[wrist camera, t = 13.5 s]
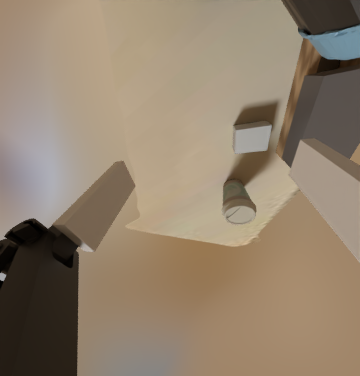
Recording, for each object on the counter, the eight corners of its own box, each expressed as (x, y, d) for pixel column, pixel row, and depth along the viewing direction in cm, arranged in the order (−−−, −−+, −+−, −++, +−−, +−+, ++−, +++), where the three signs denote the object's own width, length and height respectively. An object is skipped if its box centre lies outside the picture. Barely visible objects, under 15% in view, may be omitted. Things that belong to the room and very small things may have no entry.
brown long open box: (307, 21, 22) (326, 12, 19) (370, 3, 20) (403, -11, 17) (275, 152, 36) (283, 160, 32) (311, 148, 34) (323, 157, 31)
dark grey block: (294, 75, 26) (324, 76, 19) (354, 62, 24) (410, 58, 17) (275, 151, 35) (291, 169, 28) (318, 146, 33) (345, 165, 26)
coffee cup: (241, 171, 41) (252, 200, 31) (250, 191, 45) (262, 221, 35) (214, 182, 44) (216, 210, 35) (224, 199, 48) (229, 229, 39)
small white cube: (233, 125, 33) (236, 130, 30) (266, 120, 32) (272, 125, 29) (232, 147, 37) (234, 154, 34) (262, 144, 35) (266, 150, 32)
